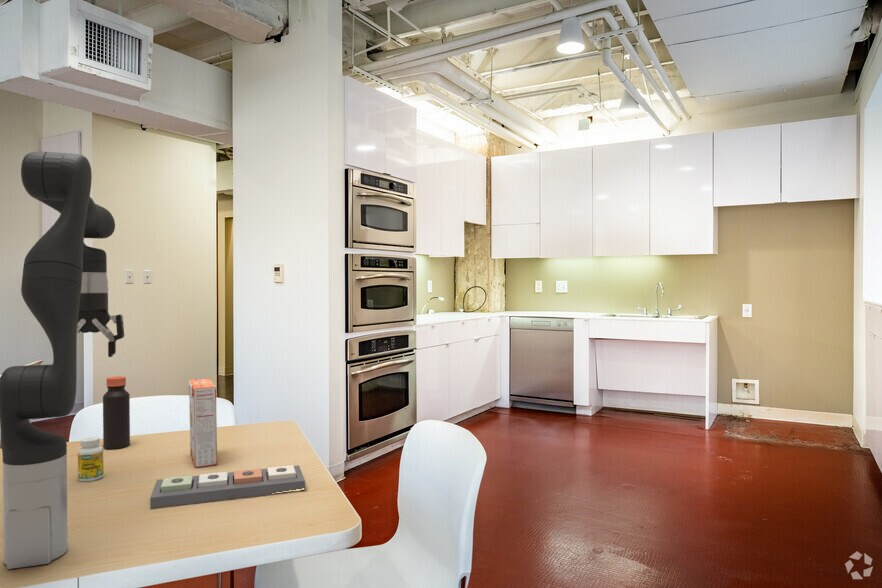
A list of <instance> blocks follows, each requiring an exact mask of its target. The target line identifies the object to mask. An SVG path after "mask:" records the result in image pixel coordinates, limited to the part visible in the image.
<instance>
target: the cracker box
mask: <svg viewBox="0 0 882 588" xmlns="http://www.w3.org/2000/svg"><path fill="white" fill-rule="evenodd" d="M188 394H189V395H188V396H189V397H188V398H189V399H188V400H189V403H188V404H189V406H188V407H189V442H190V443H189V448H190V456H191V459H192V463H193V466H194V469H196V468H204V467H211V466H217V465H218V430H217V429H218V428H217V427H218V424H217V423H218V422H217V414H218V413H217V386H216V385H215V384H214V382H213V380H211V378H196V379H189V380H188Z"/></svg>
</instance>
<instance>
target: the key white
mask: <svg viewBox="0 0 882 588" xmlns="http://www.w3.org/2000/svg"><path fill="white" fill-rule="evenodd" d="M227 473H228V471H223V472H212V473H204V474H202V473H201V474H199V475H198V476H199V482H198V488H207V487H216V486H225V485H227Z"/></svg>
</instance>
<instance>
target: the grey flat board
mask: <svg viewBox="0 0 882 588" xmlns="http://www.w3.org/2000/svg"><path fill="white" fill-rule="evenodd" d="M293 466H294V469H295V472H296V478H290V479H281V480H272V481H268V476H267V468H260V469H261V473H262V482H253V483H244V484H235V485H234V471H230V472H229V471H228V472H227V485H225V486H216V487H207V488H198V482H199V475H193V484H192V489H188V490H179V491H170V492H161V485H162V482H163V479H164V478H160V479H156V481H155V483H154V486H153V489H152V492H151V495H150V497H149V498H150V500H149V502H150V503H149V504H150V509H159V508H165V507H166V508H167V507H177V506H184V505H185V506H186V505H193V504H200V503H201V504H202V503H211V502H218V501H228V499H229V500H235V499H236V498H238V499H244V498H243V497H246V498H255V497H260V496H259V495H264V496H267V495H266V494H272V493H276V492H283V491H289V490H296V489H302V488H305V489H306V480H305V476H304V474H303V471H302V469H301V467H300V465H299V464H298V465H293ZM272 495H273V494H272ZM254 496H255V497H254Z"/></svg>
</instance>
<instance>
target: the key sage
mask: <svg viewBox="0 0 882 588" xmlns="http://www.w3.org/2000/svg"><path fill="white" fill-rule="evenodd" d="M193 476H194V475H184V476H182V475H181V476H174V477H173V476H172V477H164V478H162V479H163V482H162V485H161V492H170V491H179V490H188V489H192V484H193Z"/></svg>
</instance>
